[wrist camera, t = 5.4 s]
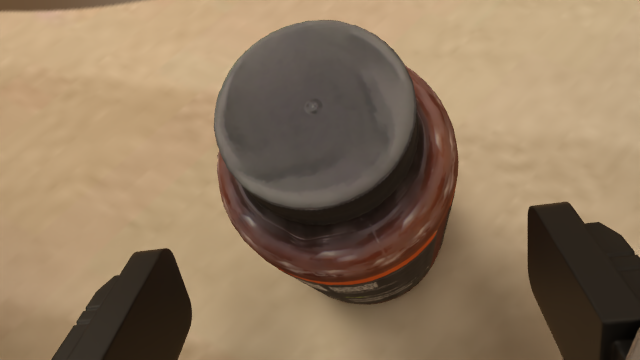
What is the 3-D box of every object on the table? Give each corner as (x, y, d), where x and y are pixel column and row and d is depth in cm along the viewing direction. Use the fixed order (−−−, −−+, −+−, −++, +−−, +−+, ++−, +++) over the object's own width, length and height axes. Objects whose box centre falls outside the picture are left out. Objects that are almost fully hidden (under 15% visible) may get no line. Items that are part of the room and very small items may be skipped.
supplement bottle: (379, 129, 22) (350, -78, 11) (475, 244, 20) (551, 125, 9) (261, 214, 22) (116, 85, 11) (346, 339, 20) (271, 332, 9)
